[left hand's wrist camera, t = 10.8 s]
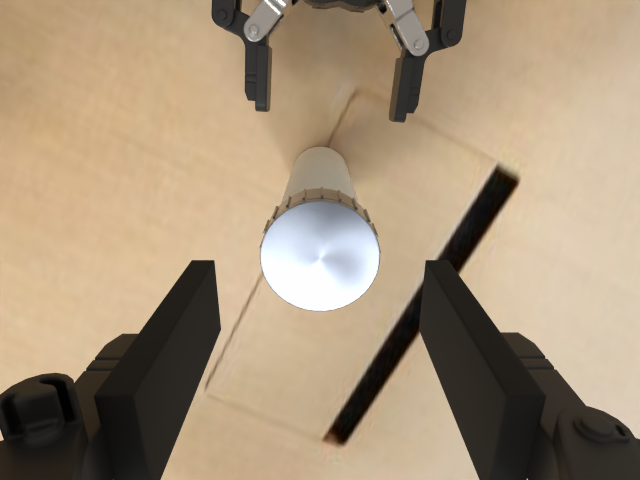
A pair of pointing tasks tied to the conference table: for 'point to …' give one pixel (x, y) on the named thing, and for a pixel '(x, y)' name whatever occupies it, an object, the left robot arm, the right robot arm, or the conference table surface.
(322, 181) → the white cylindrical bottle
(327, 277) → the lid
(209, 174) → the conference table surface
